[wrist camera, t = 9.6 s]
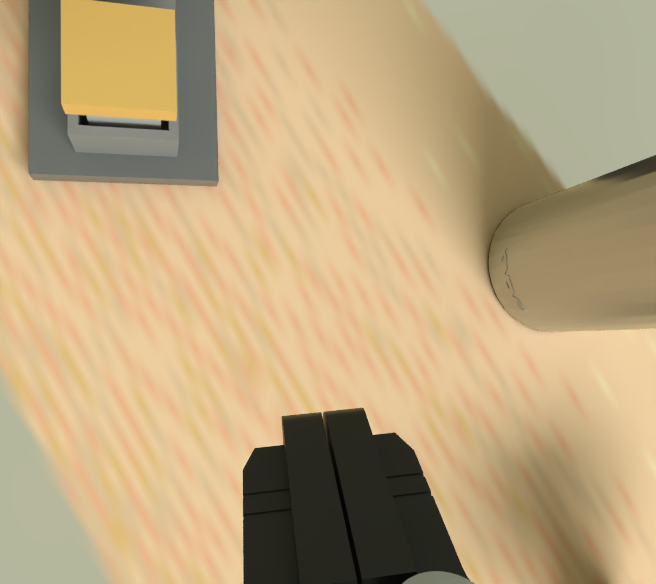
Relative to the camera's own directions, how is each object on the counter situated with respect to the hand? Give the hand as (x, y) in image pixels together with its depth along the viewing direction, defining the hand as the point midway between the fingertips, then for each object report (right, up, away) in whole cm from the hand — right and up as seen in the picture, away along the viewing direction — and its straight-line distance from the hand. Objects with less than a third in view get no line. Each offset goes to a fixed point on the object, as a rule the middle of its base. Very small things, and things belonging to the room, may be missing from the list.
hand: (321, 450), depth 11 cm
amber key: (-11, +13, +22) cm, 28 cm away
